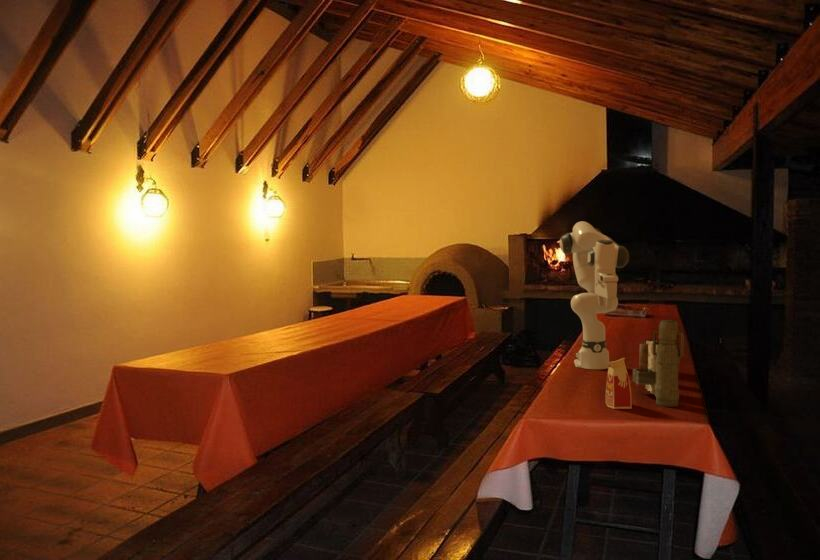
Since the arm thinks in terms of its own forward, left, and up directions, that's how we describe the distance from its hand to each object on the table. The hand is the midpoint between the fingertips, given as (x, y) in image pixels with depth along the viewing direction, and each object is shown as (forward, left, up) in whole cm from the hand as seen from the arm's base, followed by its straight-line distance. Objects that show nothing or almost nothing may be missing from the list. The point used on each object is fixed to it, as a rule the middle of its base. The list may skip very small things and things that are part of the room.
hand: (604, 306), depth 288 cm
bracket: (+11, +14, -37) cm, 41 cm away
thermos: (+27, +18, -37) cm, 49 cm away
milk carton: (+28, -3, -38) cm, 47 cm away
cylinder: (+11, +14, -31) cm, 36 cm away
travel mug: (-7, +25, -37) cm, 45 cm away
